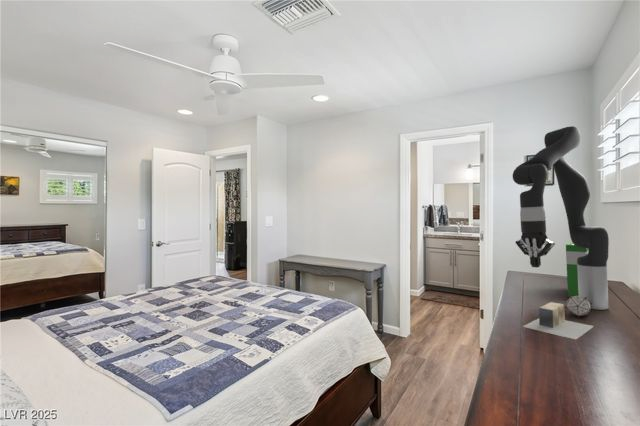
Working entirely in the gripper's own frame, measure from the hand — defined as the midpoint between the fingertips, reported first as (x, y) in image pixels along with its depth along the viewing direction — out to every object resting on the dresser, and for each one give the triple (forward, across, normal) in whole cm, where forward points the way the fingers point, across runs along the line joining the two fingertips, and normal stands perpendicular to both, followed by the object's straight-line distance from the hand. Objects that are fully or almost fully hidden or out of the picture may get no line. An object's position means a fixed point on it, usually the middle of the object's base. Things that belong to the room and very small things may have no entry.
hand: (535, 267), depth 113 cm
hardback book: (+22, -14, +57) cm, 62 cm away
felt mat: (+20, +6, 0) cm, 21 cm away
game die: (+21, +3, +19) cm, 29 cm away
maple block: (+17, +4, -3) cm, 17 cm away
